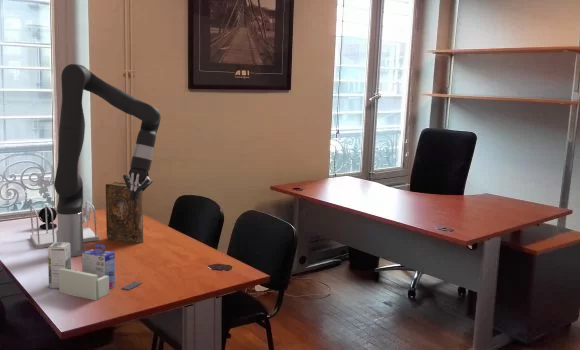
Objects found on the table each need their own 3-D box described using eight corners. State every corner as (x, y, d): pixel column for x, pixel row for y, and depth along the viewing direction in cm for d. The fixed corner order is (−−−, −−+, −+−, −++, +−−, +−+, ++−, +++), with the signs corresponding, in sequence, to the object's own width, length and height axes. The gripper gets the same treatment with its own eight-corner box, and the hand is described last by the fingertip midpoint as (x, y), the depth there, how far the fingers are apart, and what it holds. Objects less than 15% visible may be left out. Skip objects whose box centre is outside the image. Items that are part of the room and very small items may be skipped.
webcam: (40, 230, 255) (39, 209, 253) (38, 226, 261) (37, 206, 260) (58, 228, 259) (57, 207, 257) (56, 225, 265) (55, 204, 264)
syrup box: (54, 282, 192) (52, 242, 189) (72, 282, 192) (70, 242, 190) (48, 288, 186) (46, 246, 184) (66, 288, 187) (65, 246, 184)
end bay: (59, 292, 183) (58, 269, 182) (74, 285, 189) (73, 263, 188) (95, 300, 177) (94, 276, 176) (109, 293, 183) (108, 270, 182)
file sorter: (89, 231, 256) (88, 198, 253) (99, 241, 242) (98, 206, 239) (30, 238, 242) (28, 204, 240) (36, 249, 228) (35, 212, 225)
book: (145, 241, 243) (144, 185, 239) (137, 244, 238) (136, 187, 234) (115, 236, 249) (113, 181, 245) (106, 239, 244) (105, 183, 240)
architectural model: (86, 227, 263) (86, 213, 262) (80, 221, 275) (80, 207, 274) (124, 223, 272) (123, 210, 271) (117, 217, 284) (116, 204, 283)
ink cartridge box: (116, 286, 190) (115, 245, 188) (105, 291, 185) (104, 249, 183) (92, 281, 193) (91, 241, 191) (81, 287, 188) (80, 246, 186)
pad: (121, 288, 188) (121, 288, 188) (134, 282, 194) (134, 281, 194) (128, 290, 186) (128, 289, 186) (141, 283, 193) (141, 282, 193)
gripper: (122, 153, 215) (113, 197, 213) (150, 158, 210) (140, 203, 208) (134, 156, 222) (125, 199, 220) (161, 161, 216) (152, 204, 215)
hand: (132, 200), depth 214 cm, fingers closed
